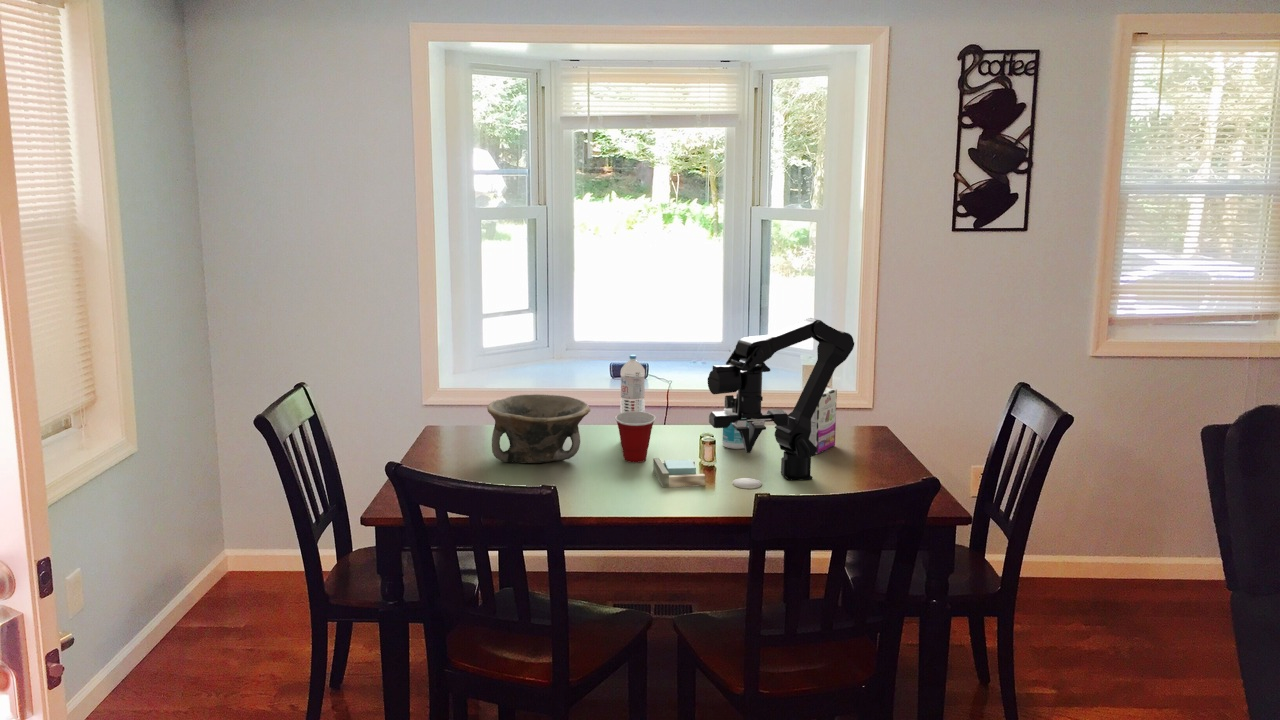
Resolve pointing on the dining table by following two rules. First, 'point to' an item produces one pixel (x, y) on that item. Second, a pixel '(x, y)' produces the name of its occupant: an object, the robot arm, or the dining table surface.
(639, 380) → the water bottle
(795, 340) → the robot arm
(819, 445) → the candy bar box
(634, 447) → the plastic cup
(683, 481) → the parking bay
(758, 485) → the pad
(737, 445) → the pill bottle
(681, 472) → the block
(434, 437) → the dining table surface
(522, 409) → the bowl
